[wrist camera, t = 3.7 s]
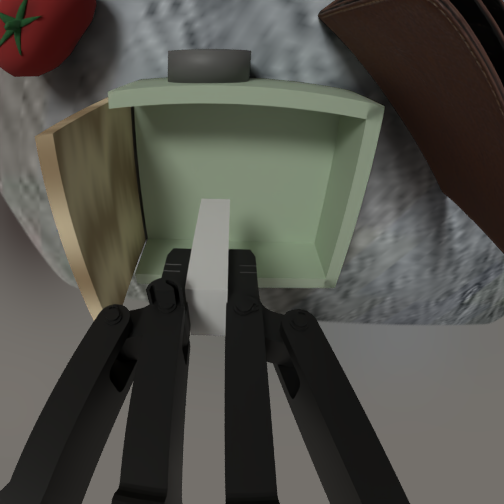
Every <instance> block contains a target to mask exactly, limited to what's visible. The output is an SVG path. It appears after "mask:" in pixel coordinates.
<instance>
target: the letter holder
mask: <svg viewBox="0 0 504 504" xmlns="http://www.w3.org/2000/svg"><path fill="white" fill-rule="evenodd" d="M318 17H319V18H320V19H321V20H322V21H323V22H324V23H325V24H326V25H327V26H328V27H329V28H330V29H331V30H332V31H333V32H334V33H335V34H336V35H337V36H338V37H339V38H340V40H341V41H342V42H343V43H344V44H345V45H346V46H347V47H348V48H349V49H350V51H351V52H352V53H353V54H354V55H355V56H356V58H357V59H358V60H359V61H360V63H361V64H362V65H363V66H364V67H365V69H366V70H367V71H368V73H369V74H370V75H371V76H372V78H373V79H374V80H375V82H376V83H377V84H378V86H379V87H380V89H381V90H382V91H383V93H384V94H385V96H386V97H387V98H388V100H389V101H390V103H391V104H392V106H393V107H394V109H395V110H396V112H397V113H398V115H399V116H400V118H401V119H402V121H403V122H404V124H405V125H406V127H407V128H408V130H409V132H410V133H411V135H412V136H413V138H414V140H415V141H416V143H417V145H418V146H419V148H420V150H421V152H422V154H423V155H424V157H425V159H426V161H427V162H428V164H429V166H430V168H431V170H432V172H433V174H434V176H435V178H436V180H437V182H438V184H439V186H440V188H441V190H442V192H443V193H444V194H445V195H446V196H448V197H449V198H450V199H451V200H452V201H453V202H455V203H456V204H457V205H458V206H459V207H460V208H461V209H462V210H463V211H464V212H465V213H466V214H467V215H468V216H469V217H470V218H471V219H472V220H473V221H474V222H475V223H476V224H477V225H478V226H479V227H480V228H481V229H482V230H483V231H484V233H485V234H486V235H487V236H488V237H489V238H490V239H491V240H492V241H493V242H494V243H495V244H496V246H497V247H498V248H499V249H500V250H501V251H502V252H503V253H504V2H503V0H335V1H333V2H332V3H331V4H329V5H328V6H327V7H325V8H324V9H323V10H321V11H320V12H319V14H318Z"/></svg>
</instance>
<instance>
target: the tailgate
mask: <svg viewBox="0 0 504 504" xmlns="http://www.w3.org/2000/svg"><path fill="white" fill-rule="evenodd" d="M35 140H36V146H37V151H38V156H39V161H40V166H41V170H42V175H43V179H44V183H45V187H46V191H47V195H48V199H49V202H50V206H51V210H52V213H53V216H54V220H55V223H56V226H57V229H58V232H59V235H60V238H61V241H62V244H63V247H64V250H65V253H66V256H67V258H68V261H69V264H70V266H71V269H72V272H73V274H74V277H75V279H76V282H77V284H78V286H79V289H80V291H81V293H82V296H83V298H84V300H85V303H86V305H87V307H88V309H89V311H90V314H91V316H92V318H93V320H95V319H96V317H97V316H98V314H99V313H100V312H101V311H102V310H103V308H105V307H107V306H109V305H113V304H119V305H123V302H124V299H125V296H126V293H127V290H128V287H129V284H130V281H131V279H132V276H133V273H134V270H135V267H136V265H137V262H138V259H139V256H140V254H141V251H142V248H143V246H144V243H145V241H146V240H147V238H148V236H147V229H146V223H145V216H144V209H143V201H142V194H141V185H140V177H139V167H138V157H137V145H136V132H135V116H134V106H132V107H121V108H112V109H109V103H108V97H107V98H105V99H103V100H101V101H99V102H97V103H95V104H93V105H91V106H89V107H87V108H85V109H83V110H81V111H79V112H77V113H75V114H73V115H71V116H69V117H67V118H66V119H64V120H62V121H60V122H59V123H57V124H55V125H53V126H52V127H50V128H48V129H47V130H45V131H43V132H42V133H40V134H38V135H37V136H35Z"/></svg>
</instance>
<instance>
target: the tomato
mask: <svg viewBox="0 0 504 504" xmlns="http://www.w3.org/2000/svg"><path fill="white" fill-rule="evenodd" d="M95 8H96V0H1V1H0V67H1V68H2V69H3V70H5V71H6V72H8V73H9V74H11V75H13V76H14V77H20V76H40V75H42V74H44V73H47V72H49V71H51V70H53V69H55V68H56V67H58V66H59V65H60V64H61V63H62V62H63V61H64V60H65V59H66V58H67V57H68V56H69V55H70V54H71V53H72V51H73V49H74V48H75V46H76V44H77V43H78V41H79V40H80V38H81V37H82V35H83V34H84V32H85V31H86V29H87V28H88V26H89V25H90V23H91V22H92V20H93V16H94V12H95Z"/></svg>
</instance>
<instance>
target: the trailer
mask: <svg viewBox="0 0 504 504" xmlns="http://www.w3.org/2000/svg"><path fill="white" fill-rule="evenodd" d="M250 60H251V51H247V50H229V49H193V50H174V51H168V78H153V79H141V80H138V81H135V82H132V83H129V84H127V85H124V86H121V87H119V88H116V89H114V90H111V91H109V92H108V103H109V109H112V108H121V107H132V106H134V116H135V132H136V145H137V157H138V167H139V177H140V185H141V194H142V201H143V209H144V216H145V223H146V229H147V236H148V240H147V243H146V245H145V248H144V251H143V253H142V256H141V259H140V261H139V264H138V267H137V270H136V273H135V275H136V279H137V283H138V284H150V283H151V282H152V281H154V280H156V279H159V278H161V277H162V273H163V269H164V265H165V262H166V258H167V255H168V254H169V253H170V252H171V250H172V249H173V248H186V249H192V245H193V239H194V234H195V229H196V224H197V219H198V214H199V209H200V204H201V199H230V217H229V249H250V250H251V251H252V252H253V254H254V255H255V257H256V267H257V279H258V288H335V286H336V283H337V280H338V277H339V275H340V272H341V269H342V266H343V263H344V260H345V257H346V254H347V251H348V247H349V244H350V241H351V238H352V235H353V231H354V228H355V225H356V222H357V218H358V215H359V211H360V208H361V204H362V201H363V197H364V194H365V190H366V186H367V182H368V179H369V175H370V171H371V167H372V163H373V159H374V155H375V150H376V146H377V142H378V137H379V133H380V128H381V124H382V119H383V114H384V109H385V106H383V105H381V104H379V103H377V102H375V101H372V100H370V99H368V98H366V97H364V96H362V95H359V94H357V93H355V92H352V91H350V90H345V89H340V88H335V87H329V86H323V85H316V84H309V83H302V82H294V81H285V80H275V79H263V78H249V73H250Z"/></svg>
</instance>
